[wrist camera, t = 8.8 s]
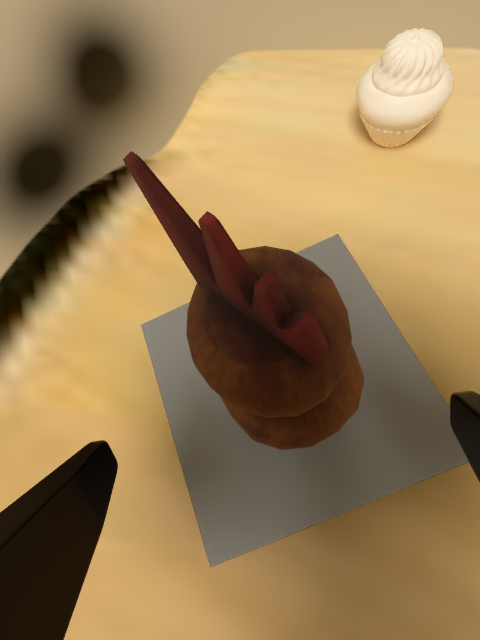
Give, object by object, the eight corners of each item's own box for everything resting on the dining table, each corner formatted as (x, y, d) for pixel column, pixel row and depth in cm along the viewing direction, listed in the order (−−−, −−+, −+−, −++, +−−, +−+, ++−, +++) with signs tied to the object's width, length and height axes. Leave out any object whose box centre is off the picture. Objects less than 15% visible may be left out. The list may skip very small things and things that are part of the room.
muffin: (340, 156, 26) (349, 65, 20) (363, 100, 28) (379, -2, 21) (422, 169, 24) (462, 73, 18) (443, 108, 26) (486, -1, 19)
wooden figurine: (218, 355, 20) (-7, 162, 6) (301, 307, 20) (275, -4, 6) (273, 465, 17) (101, 591, 3) (370, 411, 17) (629, 297, 3)
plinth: (454, 453, 18) (480, 457, 15) (225, 547, 19) (210, 567, 16) (334, 257, 23) (337, 233, 21) (160, 337, 24) (141, 324, 21)
